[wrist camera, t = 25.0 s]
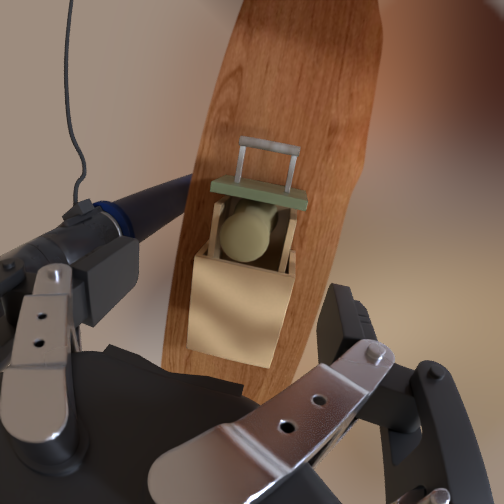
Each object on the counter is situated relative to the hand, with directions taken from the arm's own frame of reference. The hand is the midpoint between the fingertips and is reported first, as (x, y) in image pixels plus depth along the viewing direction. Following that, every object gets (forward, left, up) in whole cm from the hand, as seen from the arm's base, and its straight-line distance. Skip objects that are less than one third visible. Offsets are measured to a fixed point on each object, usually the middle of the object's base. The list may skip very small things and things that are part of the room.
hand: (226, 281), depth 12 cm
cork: (+3, -4, -28) cm, 29 cm away
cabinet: (+12, -11, -30) cm, 34 cm away
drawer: (+2, -3, -29) cm, 29 cm away
